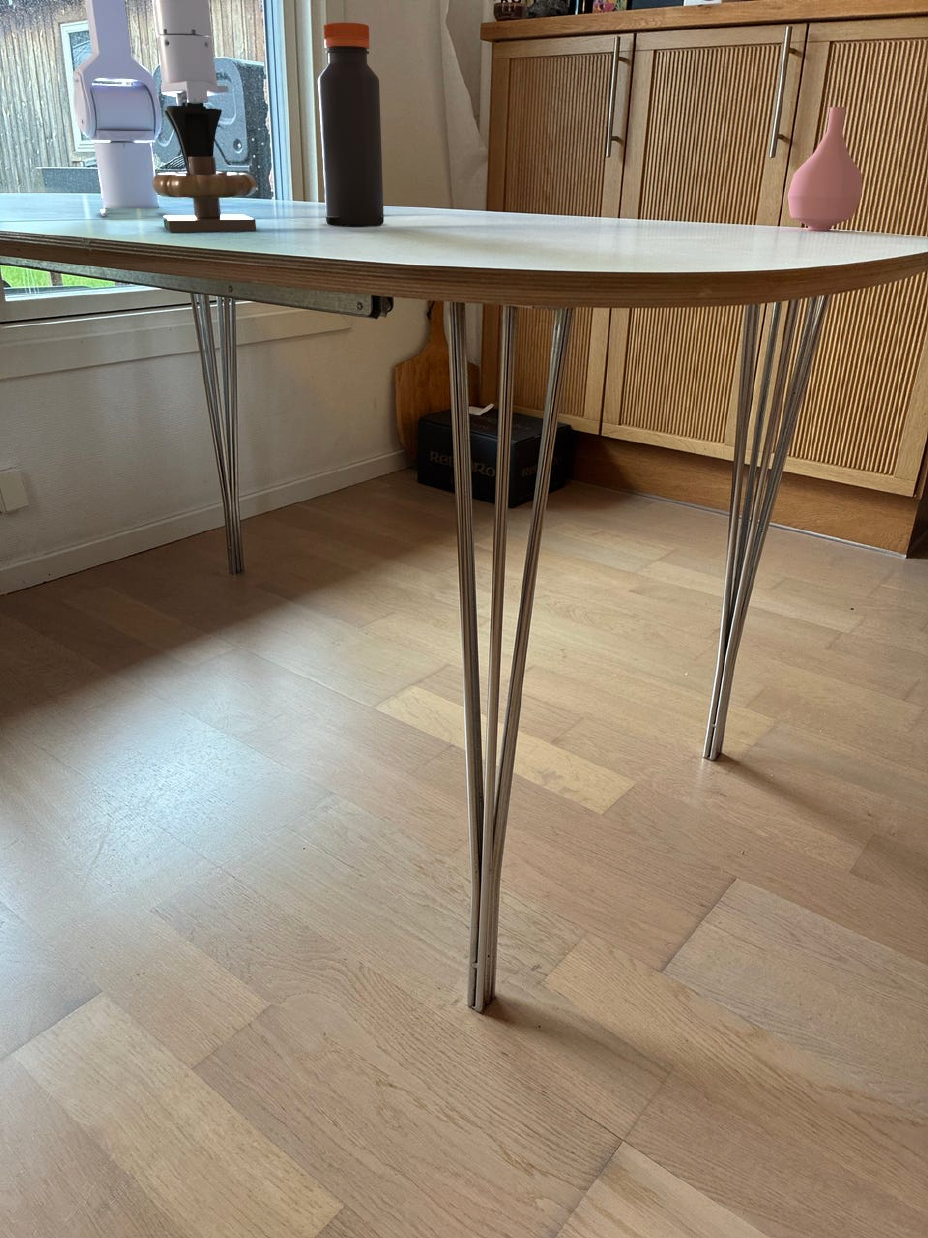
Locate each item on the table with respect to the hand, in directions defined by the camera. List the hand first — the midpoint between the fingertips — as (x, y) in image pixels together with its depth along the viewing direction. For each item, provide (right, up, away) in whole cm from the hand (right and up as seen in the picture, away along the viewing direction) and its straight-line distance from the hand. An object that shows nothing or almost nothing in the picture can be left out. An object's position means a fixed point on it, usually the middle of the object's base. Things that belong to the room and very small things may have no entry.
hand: (200, 179), depth 105 cm
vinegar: (+17, -3, +5) cm, 18 cm away
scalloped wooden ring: (+1, -2, -3) cm, 4 cm away
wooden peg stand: (+1, -6, -2) cm, 7 cm away
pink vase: (+69, -6, -1) cm, 69 cm away
